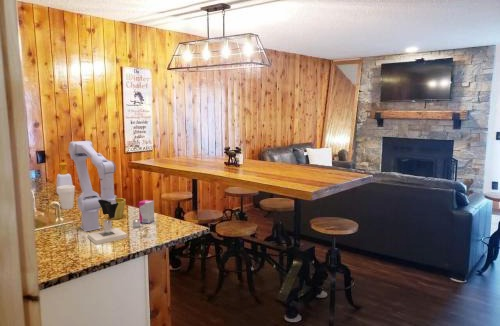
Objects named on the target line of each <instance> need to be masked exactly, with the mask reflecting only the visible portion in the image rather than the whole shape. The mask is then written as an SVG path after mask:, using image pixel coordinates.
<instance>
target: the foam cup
mask: <svg viewBox="0 0 500 326" xmlns="http://www.w3.org/2000/svg"><path fill="white" fill-rule="evenodd" d="M56 191H57V192H58V194H57V195H58V200H59V203H60V207H61V209H62V210H70V209H71V210H72V209H73V208H74V202H75V191H76V186H75V185H64V186H59V187H57V186H56Z"/></svg>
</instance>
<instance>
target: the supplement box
mask: <svg viewBox="0 0 500 326" xmlns="http://www.w3.org/2000/svg"><path fill="white" fill-rule="evenodd" d="M138 210H139V211H138V213H139V214H138V216H139V217H138V219H140V224H144V225H146V224H147V225H150V224H152V223H154V222H155V201H154V200H153V199H152V200H151V199H144V200H141V201H139V202H138Z"/></svg>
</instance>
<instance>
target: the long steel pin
mask: <svg viewBox="0 0 500 326" xmlns="http://www.w3.org/2000/svg"><path fill="white" fill-rule="evenodd" d="M112 220H113V219H105V220H103V230H104V236H108V235H112V229H113V221H112Z"/></svg>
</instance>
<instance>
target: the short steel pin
mask: <svg viewBox="0 0 500 326" xmlns="http://www.w3.org/2000/svg"><path fill="white" fill-rule="evenodd" d="M132 228H133V229H140V228H141V223H140V219H139V218H138V219H137V218H136V219H132Z"/></svg>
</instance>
